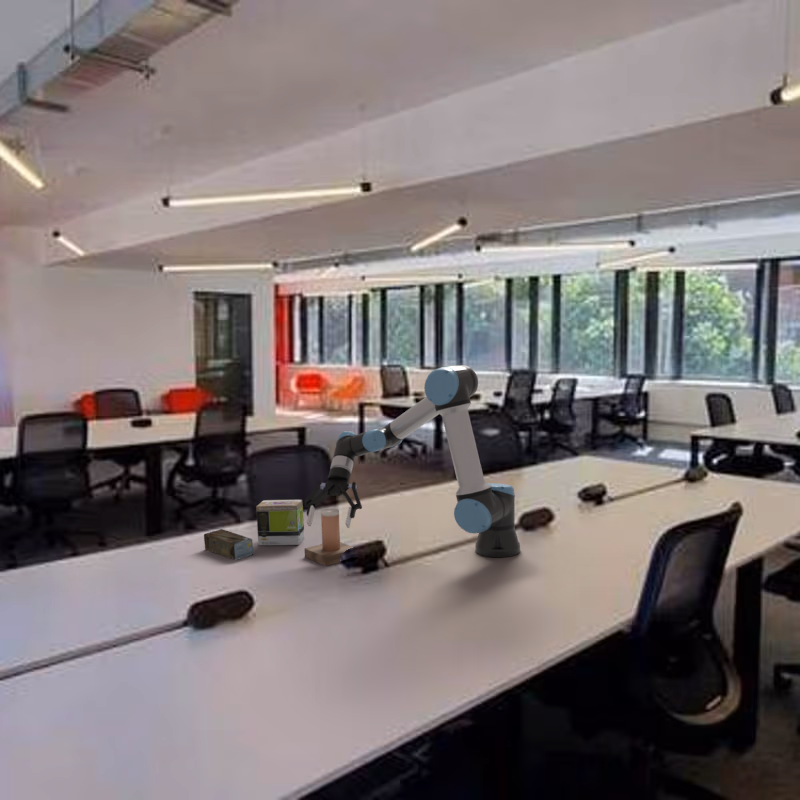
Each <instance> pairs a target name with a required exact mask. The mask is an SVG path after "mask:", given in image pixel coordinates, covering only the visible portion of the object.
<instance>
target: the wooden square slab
mask: <svg viewBox="0 0 800 800" xmlns="http://www.w3.org/2000/svg"><path fill="white" fill-rule="evenodd" d="M353 547H354V546H352V545H350V544H347V543H344V542H341V541H340V549H339V550H336V551H325V550H323V549H322V543H321V544H317V545H313V546H308V547H305V548H304V558H306V559H308V560H311V561H313V562H316V563H318V564H321V565H323V566H330V565H334V564H339V563H341V562H340V556H341V554H342V553H344V552H345V551H346V550H348V549H350V548H353Z"/></svg>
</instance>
